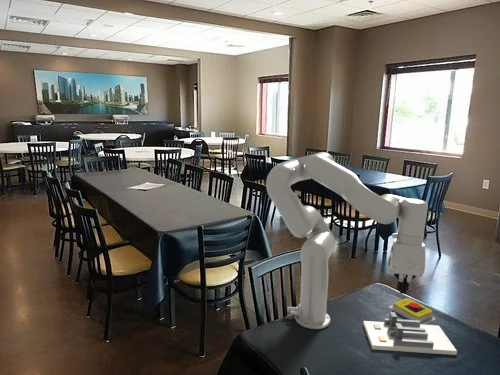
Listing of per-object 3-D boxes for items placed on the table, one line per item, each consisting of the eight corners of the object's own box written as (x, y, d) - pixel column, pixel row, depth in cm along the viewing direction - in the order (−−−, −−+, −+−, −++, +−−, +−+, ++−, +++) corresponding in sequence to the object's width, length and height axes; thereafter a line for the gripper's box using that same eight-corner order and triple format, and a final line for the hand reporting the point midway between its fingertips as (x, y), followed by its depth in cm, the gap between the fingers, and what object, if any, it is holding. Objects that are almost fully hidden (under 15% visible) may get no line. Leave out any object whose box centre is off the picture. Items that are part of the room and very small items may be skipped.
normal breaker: (391, 329, 126) (392, 316, 125) (388, 324, 129) (389, 311, 128) (395, 330, 126) (397, 316, 125) (393, 325, 129) (394, 312, 128)
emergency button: (421, 316, 131) (387, 297, 144) (420, 327, 132) (386, 308, 145) (438, 309, 136) (403, 292, 148) (436, 320, 137) (402, 302, 149)
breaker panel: (372, 349, 119) (372, 340, 118) (363, 324, 132) (363, 316, 132) (456, 355, 116) (457, 345, 116) (438, 329, 130) (439, 320, 129)
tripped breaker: (396, 342, 120) (398, 328, 119) (394, 336, 123) (395, 323, 121) (401, 342, 119) (403, 328, 118) (399, 337, 122) (400, 323, 121)
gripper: (388, 240, 112) (380, 295, 116) (439, 244, 111) (430, 299, 115) (382, 232, 119) (375, 284, 123) (430, 235, 118) (421, 288, 122)
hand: (401, 291), depth 119 cm, fingers closed
